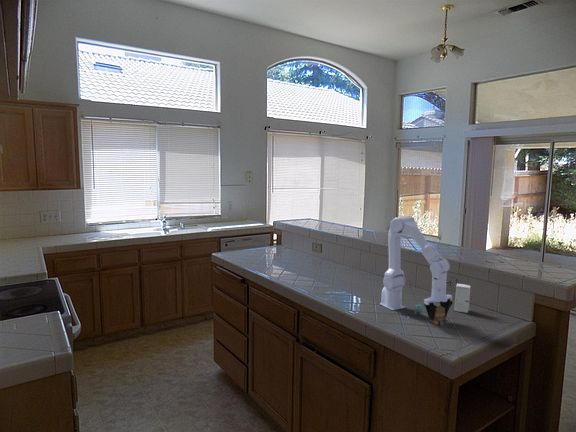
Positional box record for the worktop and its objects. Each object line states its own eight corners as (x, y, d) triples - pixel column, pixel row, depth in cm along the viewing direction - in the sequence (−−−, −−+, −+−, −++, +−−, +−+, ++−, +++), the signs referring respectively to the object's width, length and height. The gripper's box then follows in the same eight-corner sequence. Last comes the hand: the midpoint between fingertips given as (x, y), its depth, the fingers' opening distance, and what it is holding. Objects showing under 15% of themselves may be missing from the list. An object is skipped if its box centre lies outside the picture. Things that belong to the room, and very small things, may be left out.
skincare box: (454, 311, 179) (455, 285, 178) (455, 307, 183) (456, 283, 181) (468, 313, 176) (470, 287, 175) (469, 310, 180) (470, 285, 179)
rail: (414, 313, 176) (414, 305, 175) (419, 312, 177) (419, 304, 177) (442, 326, 162) (442, 317, 161) (447, 325, 163) (447, 316, 163)
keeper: (429, 321, 167) (430, 307, 166) (437, 319, 169) (438, 305, 168) (436, 324, 163) (437, 310, 162) (445, 322, 165) (445, 308, 164)
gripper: (433, 292, 157) (432, 324, 159) (458, 287, 164) (457, 318, 165) (420, 287, 164) (419, 318, 165) (445, 283, 170) (443, 312, 172)
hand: (437, 318), depth 166 cm, fingers open, 7 cm apart
